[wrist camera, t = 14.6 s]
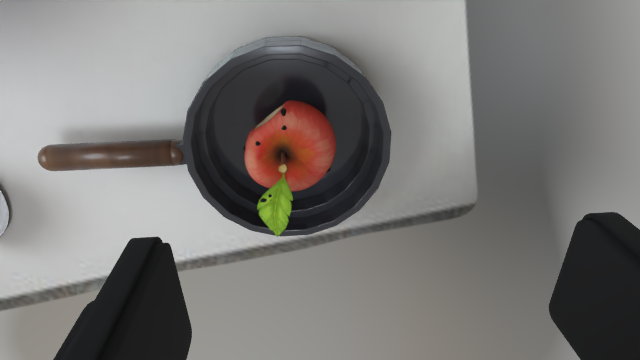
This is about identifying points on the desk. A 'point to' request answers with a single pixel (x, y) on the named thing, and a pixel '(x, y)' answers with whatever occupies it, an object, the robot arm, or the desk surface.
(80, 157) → the pan handle
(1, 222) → the teacup
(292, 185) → the apple
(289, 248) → the desk surface
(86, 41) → the desk surface
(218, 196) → the pan
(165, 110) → the desk surface
